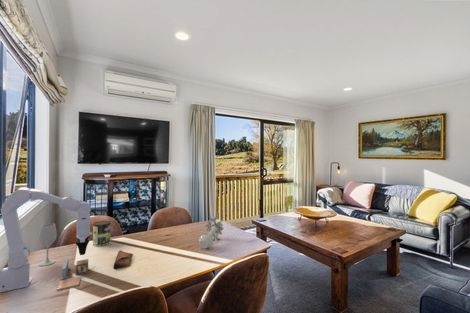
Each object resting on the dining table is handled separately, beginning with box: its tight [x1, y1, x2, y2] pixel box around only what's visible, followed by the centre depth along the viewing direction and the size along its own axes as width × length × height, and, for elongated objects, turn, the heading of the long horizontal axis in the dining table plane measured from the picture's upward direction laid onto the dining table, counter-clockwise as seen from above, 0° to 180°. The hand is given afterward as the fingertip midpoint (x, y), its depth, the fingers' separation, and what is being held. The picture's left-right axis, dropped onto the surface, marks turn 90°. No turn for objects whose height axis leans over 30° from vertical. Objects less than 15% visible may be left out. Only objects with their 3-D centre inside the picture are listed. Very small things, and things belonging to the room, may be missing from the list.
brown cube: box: [75, 258, 89, 276], centre depth 114 cm, size 5×5×5 cm
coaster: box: [56, 275, 81, 291], centre depth 103 cm, size 8×8×1 cm
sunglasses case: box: [113, 250, 133, 270], centre depth 127 cm, size 18×7×7 cm, turn 22°
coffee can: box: [92, 220, 112, 247], centre depth 152 cm, size 10×10×14 cm
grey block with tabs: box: [59, 258, 71, 281], centre depth 111 cm, size 3×12×6 cm, turn 32°
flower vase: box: [198, 216, 224, 249], centre depth 154 cm, size 13×18×25 cm
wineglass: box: [38, 222, 58, 267], centre depth 123 cm, size 8×8×21 cm
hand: (82, 251), depth 116 cm, fingers open, 7 cm apart
